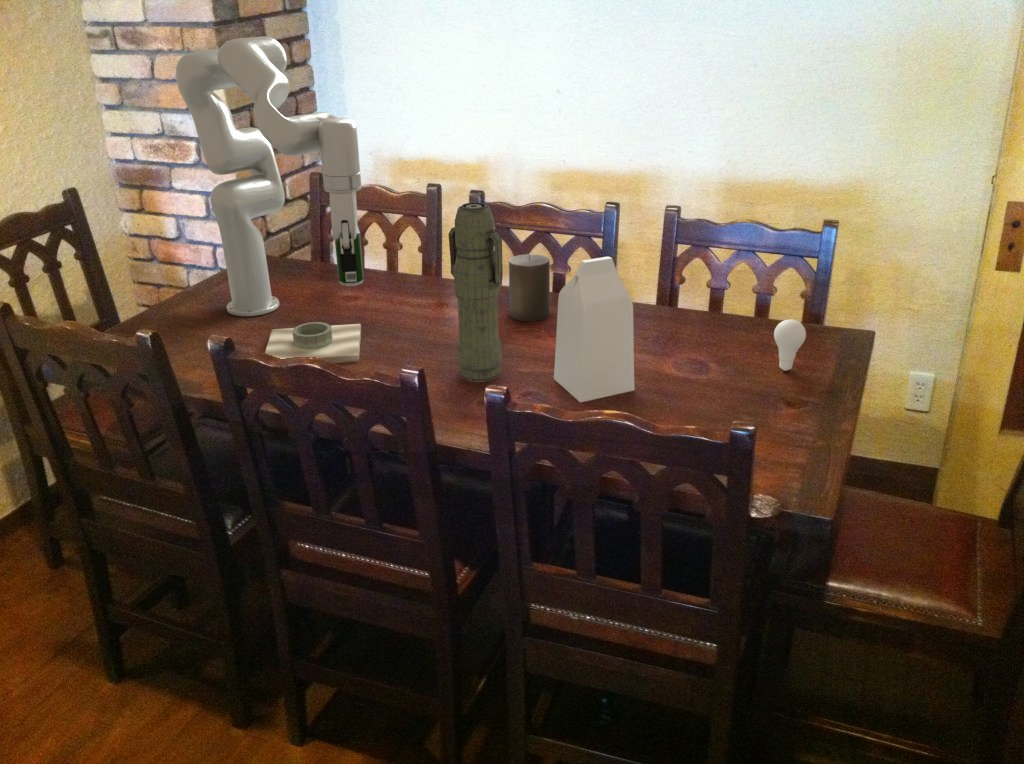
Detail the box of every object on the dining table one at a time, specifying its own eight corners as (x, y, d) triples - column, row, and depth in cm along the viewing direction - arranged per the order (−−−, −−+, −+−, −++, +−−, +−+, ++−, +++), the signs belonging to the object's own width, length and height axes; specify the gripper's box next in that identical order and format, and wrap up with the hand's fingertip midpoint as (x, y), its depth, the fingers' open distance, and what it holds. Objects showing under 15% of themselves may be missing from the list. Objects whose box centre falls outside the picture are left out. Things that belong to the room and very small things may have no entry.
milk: (580, 402, 166) (582, 273, 154) (553, 378, 175) (554, 255, 164) (634, 390, 170) (640, 263, 158) (605, 368, 179) (609, 247, 168)
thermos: (466, 359, 184) (459, 197, 169) (515, 370, 179) (512, 203, 164) (443, 375, 177) (434, 207, 162) (493, 387, 172) (488, 214, 157)
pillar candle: (550, 321, 203) (550, 260, 196) (508, 322, 203) (507, 260, 197) (549, 307, 212) (549, 248, 205) (509, 307, 212) (508, 248, 206)
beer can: (366, 284, 184) (362, 229, 178) (341, 287, 182) (336, 232, 177) (361, 276, 188) (356, 223, 183) (336, 279, 186) (331, 225, 181)
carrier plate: (273, 335, 198) (270, 317, 196) (361, 329, 200) (359, 311, 198) (263, 368, 182) (259, 348, 180) (358, 361, 184) (356, 342, 182)
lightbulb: (795, 379, 173) (803, 328, 168) (765, 372, 176) (771, 322, 171) (804, 367, 178) (811, 318, 173) (774, 361, 181) (780, 312, 176)
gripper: (325, 172, 182) (333, 254, 191) (321, 192, 167) (330, 281, 175) (361, 171, 183) (367, 253, 192) (360, 191, 168) (367, 279, 176)
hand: (349, 265), depth 183 cm, fingers closed on beer can, 5 cm apart
